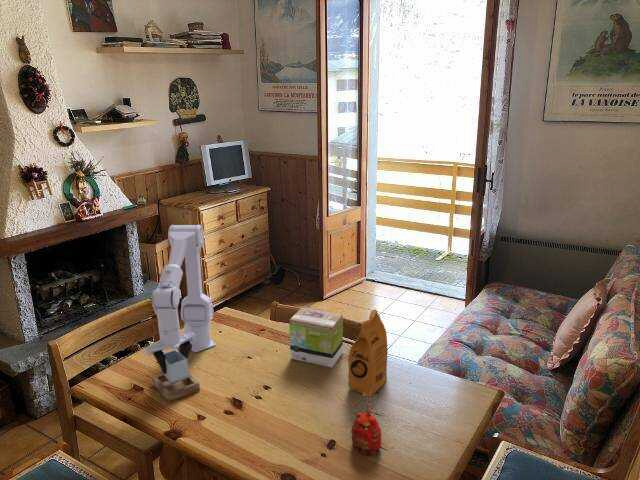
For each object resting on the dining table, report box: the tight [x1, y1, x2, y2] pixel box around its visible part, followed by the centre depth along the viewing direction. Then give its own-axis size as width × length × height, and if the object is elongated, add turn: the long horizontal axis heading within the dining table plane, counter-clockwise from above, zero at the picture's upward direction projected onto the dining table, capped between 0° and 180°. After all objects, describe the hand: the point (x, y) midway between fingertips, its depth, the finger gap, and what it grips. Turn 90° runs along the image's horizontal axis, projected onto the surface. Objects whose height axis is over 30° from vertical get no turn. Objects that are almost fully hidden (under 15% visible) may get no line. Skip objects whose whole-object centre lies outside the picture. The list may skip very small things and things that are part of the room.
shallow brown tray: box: [152, 373, 201, 404], centre depth 155 cm, size 12×10×2 cm
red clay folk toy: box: [350, 389, 382, 456], centre depth 127 cm, size 8×7×15 cm
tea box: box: [288, 307, 344, 369], centre depth 168 cm, size 15×10×15 cm, turn 68°
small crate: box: [160, 348, 190, 384], centre depth 153 cm, size 8×6×6 cm
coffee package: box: [347, 308, 389, 397], centre depth 152 cm, size 10×12×22 cm
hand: (174, 368), depth 153 cm, fingers closed on small crate, 5 cm apart
